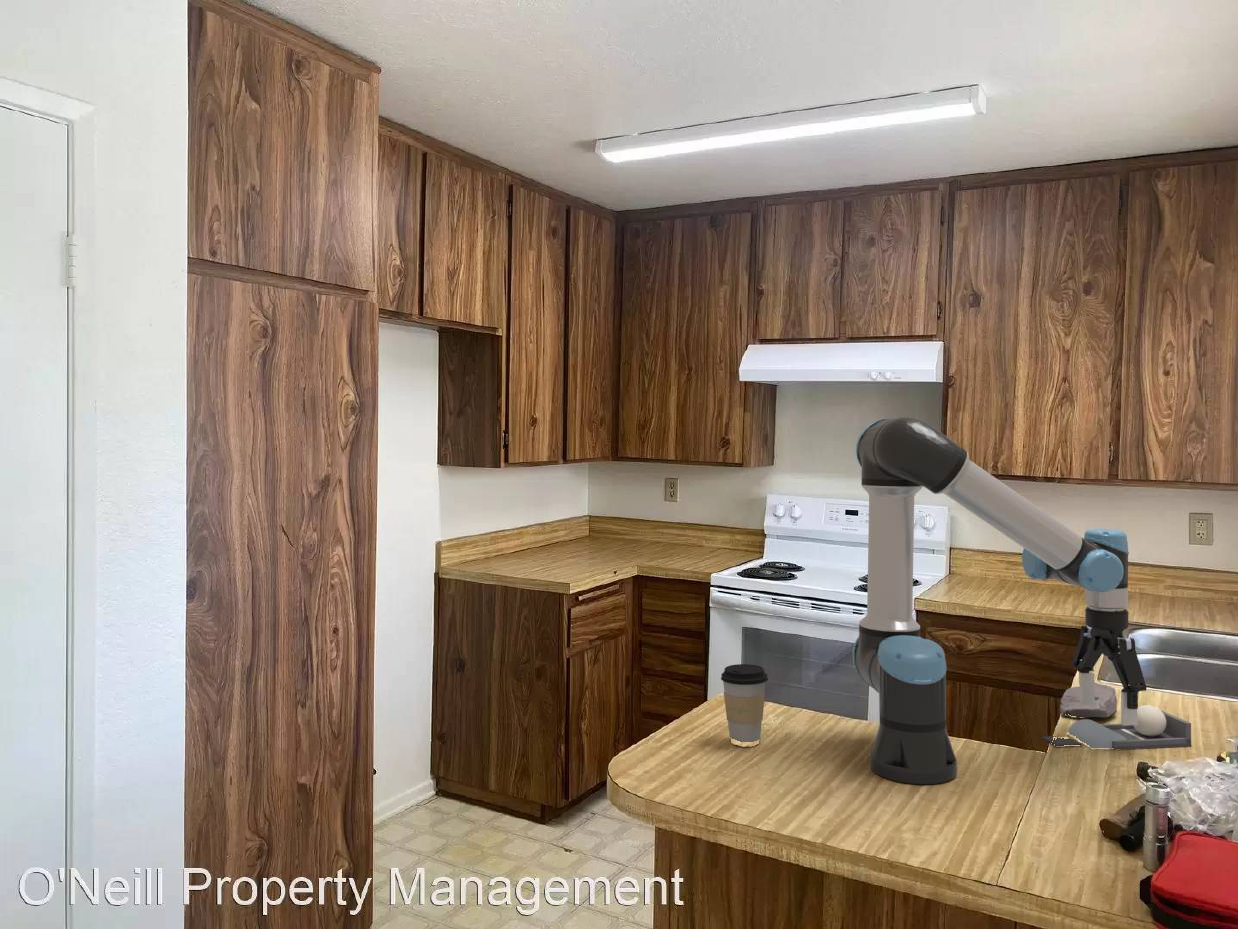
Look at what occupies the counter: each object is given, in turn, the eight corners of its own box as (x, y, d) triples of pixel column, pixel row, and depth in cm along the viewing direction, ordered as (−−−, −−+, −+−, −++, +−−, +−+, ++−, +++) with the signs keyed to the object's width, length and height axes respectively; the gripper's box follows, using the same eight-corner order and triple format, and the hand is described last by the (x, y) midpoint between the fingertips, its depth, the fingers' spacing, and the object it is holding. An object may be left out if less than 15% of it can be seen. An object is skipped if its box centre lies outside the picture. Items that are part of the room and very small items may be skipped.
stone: (1103, 726, 189) (1103, 698, 189) (1056, 717, 197) (1056, 689, 196) (1126, 714, 198) (1126, 686, 198) (1081, 705, 205) (1081, 679, 205)
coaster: (1056, 747, 177) (1056, 745, 177) (1042, 739, 182) (1042, 736, 182) (1081, 746, 177) (1081, 743, 177) (1066, 738, 182) (1066, 735, 182)
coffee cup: (719, 749, 180) (717, 673, 179) (725, 734, 189) (723, 662, 189) (767, 752, 177) (766, 675, 177) (770, 736, 187) (769, 664, 186)
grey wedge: (1132, 773, 176) (1131, 732, 176) (1092, 775, 175) (1092, 734, 175) (1103, 757, 185) (1103, 718, 185) (1066, 759, 184) (1065, 720, 184)
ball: (1173, 709, 178) (1173, 739, 178) (1152, 700, 184) (1153, 730, 184) (1144, 711, 177) (1144, 741, 177) (1124, 702, 183) (1125, 732, 183)
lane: (1114, 750, 175) (1114, 726, 175) (1082, 732, 185) (1082, 710, 185) (1191, 746, 176) (1191, 723, 176) (1154, 729, 186) (1154, 707, 186)
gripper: (1167, 618, 167) (1168, 733, 168) (1087, 596, 192) (1088, 696, 193) (1128, 620, 167) (1129, 735, 167) (1053, 597, 192) (1054, 697, 192)
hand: (1107, 714), depth 180 cm, fingers open, 13 cm apart
